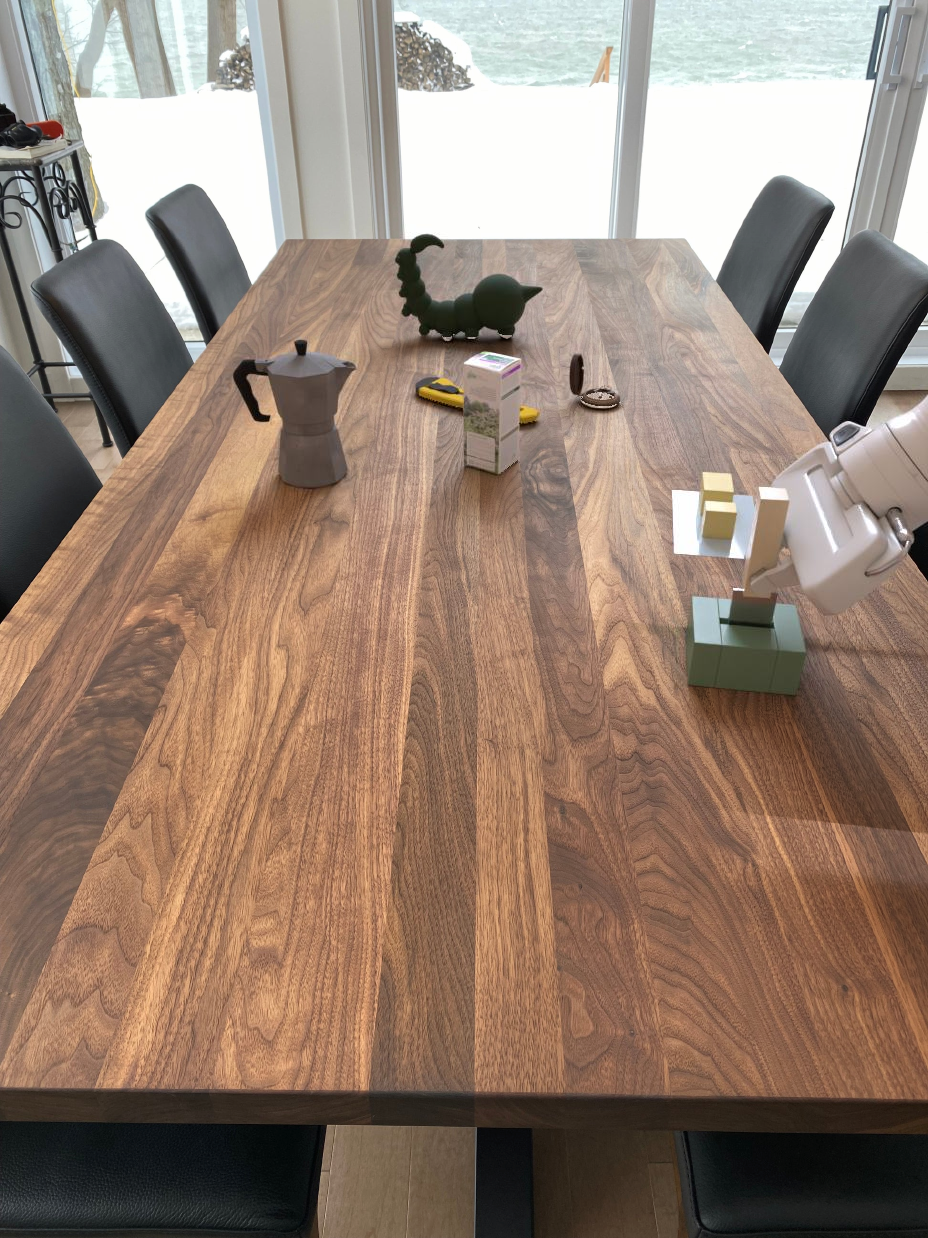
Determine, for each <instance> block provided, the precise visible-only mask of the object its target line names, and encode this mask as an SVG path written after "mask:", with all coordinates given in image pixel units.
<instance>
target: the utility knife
mask: <svg viewBox="0 0 928 1238" xmlns="http://www.w3.org/2000/svg"><path fill="white" fill-rule="evenodd" d="M414 388H415V394H417V395H418V396H419V397H421V396H422V397H421V398H423V397H424V399H426V398H428V399H427V400H429V399H430V401H433V400H434V402H436V401H438V402H437V403H439V402H442V403H441V404H443V403H445V404H444V405H446V404H450V405H452V406H451V407H453V406H458V407H462V408H463V388H461V387H459V386H457V385H455V384H454V383H453V382H452V381H450V380H449V379H448V378H445V377H438V376H432V377H431V376H429V377H424V378H422V379H420V380H418V381H417V382H415V387H414ZM431 399H432V400H431ZM450 405H449V406H450ZM538 415H539V416H540V410H538V409H536V408H533V407H529V406H525V405H521V404H520V419H519V423H521V424H520V425H523V424H522V423H524V424H528V423H527V422H531V421H535V420H536V419H537V417H538ZM538 418H539V417H538ZM537 420H538V419H537ZM537 420H536V421H537ZM536 421H535V422H536ZM531 423H532V422H531Z"/></svg>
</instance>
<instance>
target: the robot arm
mask: <svg viewBox="0 0 928 1238" xmlns="http://www.w3.org/2000/svg"><path fill="white" fill-rule="evenodd" d="M829 440H830V441H824V442H821V443H819V444H817V445H815V446H814V447H813V448H811V449H810V450H808V451H807V452H806V453H805V454H803V455H801V456H800V457H798V459H796V460H795V461H794V462H793V463H791V464H790V465H789V466H788V467H786V468H785V469H784V470H783V471H781V472H780V473H779V474H778V475H777V476H776V478H775V479H774V480H773V482H772V483H771V485H770V486H769V488H786V489H787V493H788V497H789V501H790V502H789V507H788V512H787V517H786V522H785V527H784V532H783V537H782V542H781V547H780V552H781V551H782V550H783V549H786V550H787V549H788V552H789V555H788V556H786V557H785V558H784V559H782V560H781V561H780V565H777V567H775V568H773V569H770V570H767V571H766V570H765V568H764V567H763V568H761V569H760V570H758V571H757V572H756V573H755V574H752V575H751V576H750V577H749V582H750V586H751V589H752V590H753V591H754V592H755V593H756V594H757V596H759V597H765V596H766V595H768V594H770V593H771V592H773V591H774V592H775V591H776V590H779V589H784V588H789V587H794V586H798V585H799V584H800V585H799V586H800V589H801V591H802V594H803V596H805V598H807V600H808V601H809V602H810V603H811V604H812V605H813V606H814V608H815V609H817V610H818V611H819V613H821V614H822V615H823V616H825V617H827V616H837V615H840V614H842V613H844V612H846V611H847V610H849V609H850V608H851V607H853V606H854V605H856V604H857V603H858V602H860V601H861V600H863V599H864V598H865V597H867V596H868V595H869V594H871V593H872V592H873V591H874V590H876V589H877V588H878V587H880V586H881V585H882V584H884V583H885V582H886V581H887V580H888V579H889V578H891V576H893V575H894V574H895V572H896V571H897V570H898V569H899V567H900V565H901V563H903V562H904V561H905V560H906V559H907V557H908V553H909V552H910V550H911V546H912V545H913V544H914V541H915V536H914V532H913V531H915V530H917V529H918V528H919V527H921V526H923V525H924V524H926V523H927V522H928V394H927V395H926V396H925V397H924V398H923V399H922V400H921V402H920V403H918V404H917V405H916V406H914V407H913V408H911V409H910V410H908V411H906V412H905V413H903V414H900V415H897V416H894V417H892V418H889V420H886V421H885V422H884V423H883V424H881V425H879V427H877V428H875V429H874V428H873V427H867V426H863V425H860V424H858V423H856V422H853V421H848V420H847V421H844V422H842V423H841V424H839V425H838V426H836V427H835V428H833V429H832V430H831V432H830V433H829ZM746 555H747V553H746V554H745V555H744V559H743V561H744V563H745V561H746Z"/></svg>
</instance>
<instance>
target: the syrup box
mask: <svg viewBox="0 0 928 1238" xmlns="http://www.w3.org/2000/svg"><path fill="white" fill-rule="evenodd" d="M462 364H463V365H462V372H463V375H462V380H463V383H462V387H463V388H462V389H463V409H462V411H463V414H462V415H463V417H462V419H463V424H462V425H463V465H464V466H466V467H470V468H473V469H477V470H480V469H481V470H480V471H483V470H484V471H483V472H486V473H487V472H488V473H490V474H494V475H500V474H502V473H504V472H505V471H506V470H507V468H508V467H509V466H510V467H512V466H513V465H514V464H516V463H517V462H518V461H519V459H520V424H519V419H520V405H521V392H522V391H521V389H522V388H521V387H522V358H518V357H514V356H510V355H505V354H500V353H495V352H490V351H481V352H480V353H477V354H475V355H474V356H472V357H470V358H469V359H467V360H466V361H464V362H463V363H462ZM517 460H518V461H517ZM516 461H517V462H516ZM515 462H516V463H515ZM513 463H514V464H513ZM512 464H513V465H512ZM511 465H512V466H511ZM510 467H509V468H510ZM509 468H508V469H509ZM505 469H506V470H505ZM504 470H505V471H504ZM501 472H502V473H501Z"/></svg>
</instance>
